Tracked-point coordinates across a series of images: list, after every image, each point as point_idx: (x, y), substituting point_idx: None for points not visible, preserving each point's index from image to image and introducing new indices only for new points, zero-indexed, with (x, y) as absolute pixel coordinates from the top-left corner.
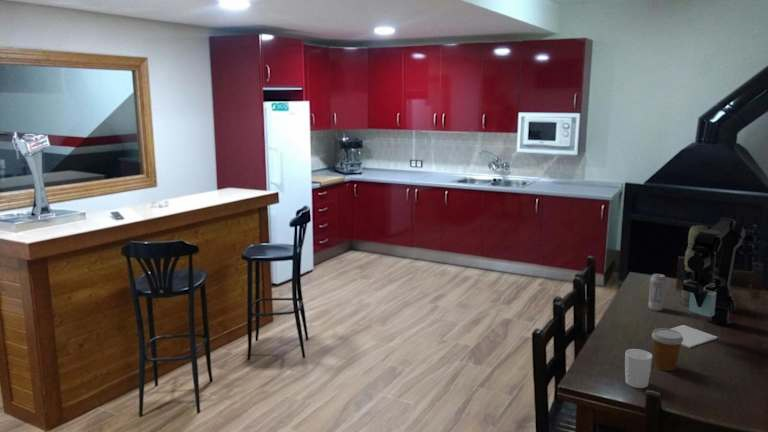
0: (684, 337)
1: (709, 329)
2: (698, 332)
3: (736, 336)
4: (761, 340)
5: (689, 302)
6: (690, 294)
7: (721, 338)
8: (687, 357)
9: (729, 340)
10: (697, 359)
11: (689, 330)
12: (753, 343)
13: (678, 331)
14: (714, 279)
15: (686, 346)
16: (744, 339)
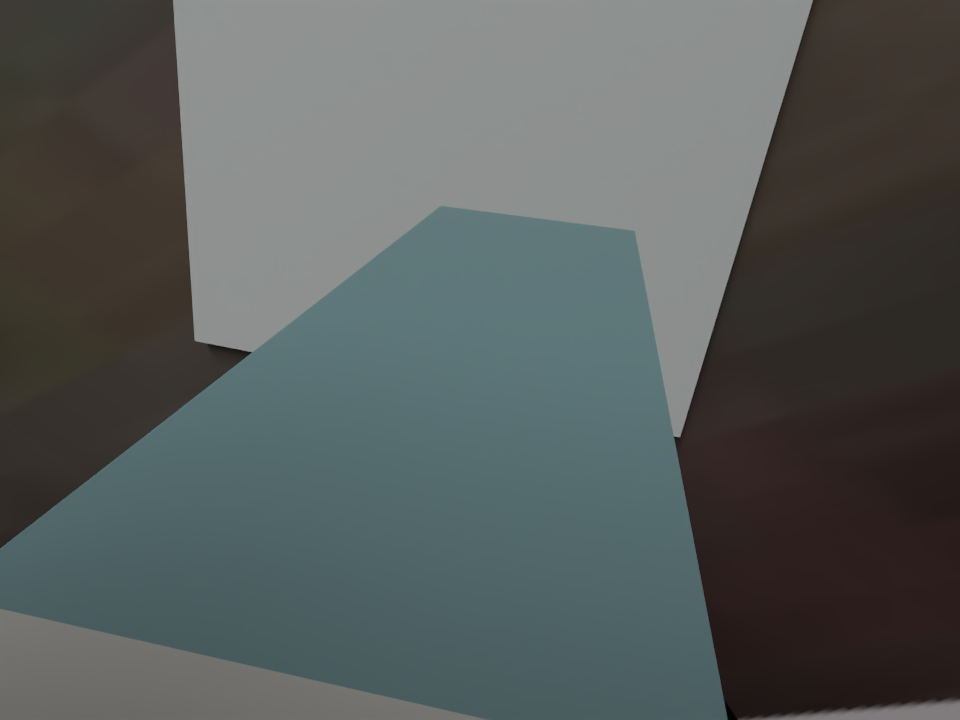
0: (362, 199)
1: (948, 262)
2: (661, 239)
3: (896, 536)
4: (940, 702)
5: (374, 262)
6: (219, 400)
7: (711, 452)
8: (32, 398)
9: (712, 518)
10: (74, 462)
11: (646, 127)
12: (795, 669)
13: (492, 41)
14: None
15: (199, 306)
16: (854, 602)
